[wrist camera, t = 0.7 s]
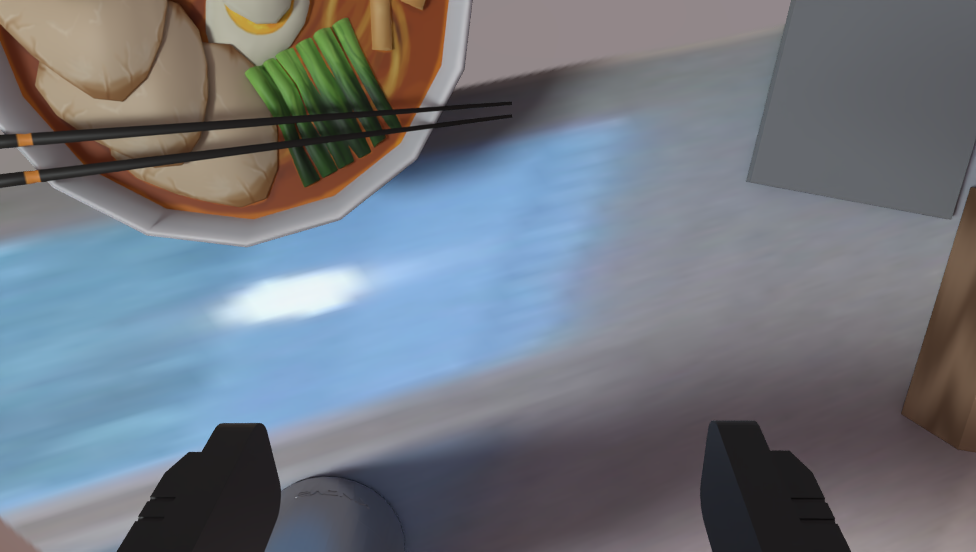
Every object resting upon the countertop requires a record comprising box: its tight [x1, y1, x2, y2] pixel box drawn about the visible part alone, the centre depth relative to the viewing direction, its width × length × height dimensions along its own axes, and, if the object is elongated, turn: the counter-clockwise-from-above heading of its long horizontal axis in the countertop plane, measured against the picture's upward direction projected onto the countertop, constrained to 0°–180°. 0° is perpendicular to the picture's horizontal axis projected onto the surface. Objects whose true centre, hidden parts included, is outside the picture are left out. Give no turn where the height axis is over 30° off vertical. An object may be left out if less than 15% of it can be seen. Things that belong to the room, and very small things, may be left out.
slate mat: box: [746, 0, 976, 219], centre depth 39 cm, size 12×12×1 cm
